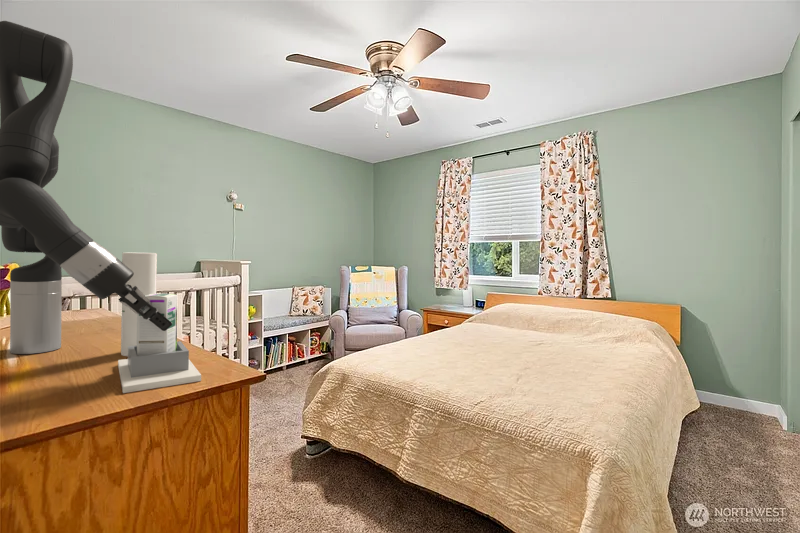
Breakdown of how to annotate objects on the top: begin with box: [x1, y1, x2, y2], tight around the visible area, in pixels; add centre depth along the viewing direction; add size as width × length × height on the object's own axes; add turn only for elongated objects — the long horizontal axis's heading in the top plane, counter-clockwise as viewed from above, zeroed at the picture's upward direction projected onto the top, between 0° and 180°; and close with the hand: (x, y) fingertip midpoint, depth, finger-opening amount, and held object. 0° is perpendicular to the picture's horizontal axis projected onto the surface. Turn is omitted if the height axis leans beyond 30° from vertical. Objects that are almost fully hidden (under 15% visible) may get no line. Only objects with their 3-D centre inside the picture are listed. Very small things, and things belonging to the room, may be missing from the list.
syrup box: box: [137, 292, 178, 356], centre depth 82 cm, size 6×6×14 cm
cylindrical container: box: [120, 251, 158, 357], centre depth 97 cm, size 7×7×25 cm
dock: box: [117, 340, 202, 394], centre depth 83 cm, size 20×13×5 cm, turn 38°
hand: (165, 324), depth 83 cm, fingers closed on syrup box, 7 cm apart
